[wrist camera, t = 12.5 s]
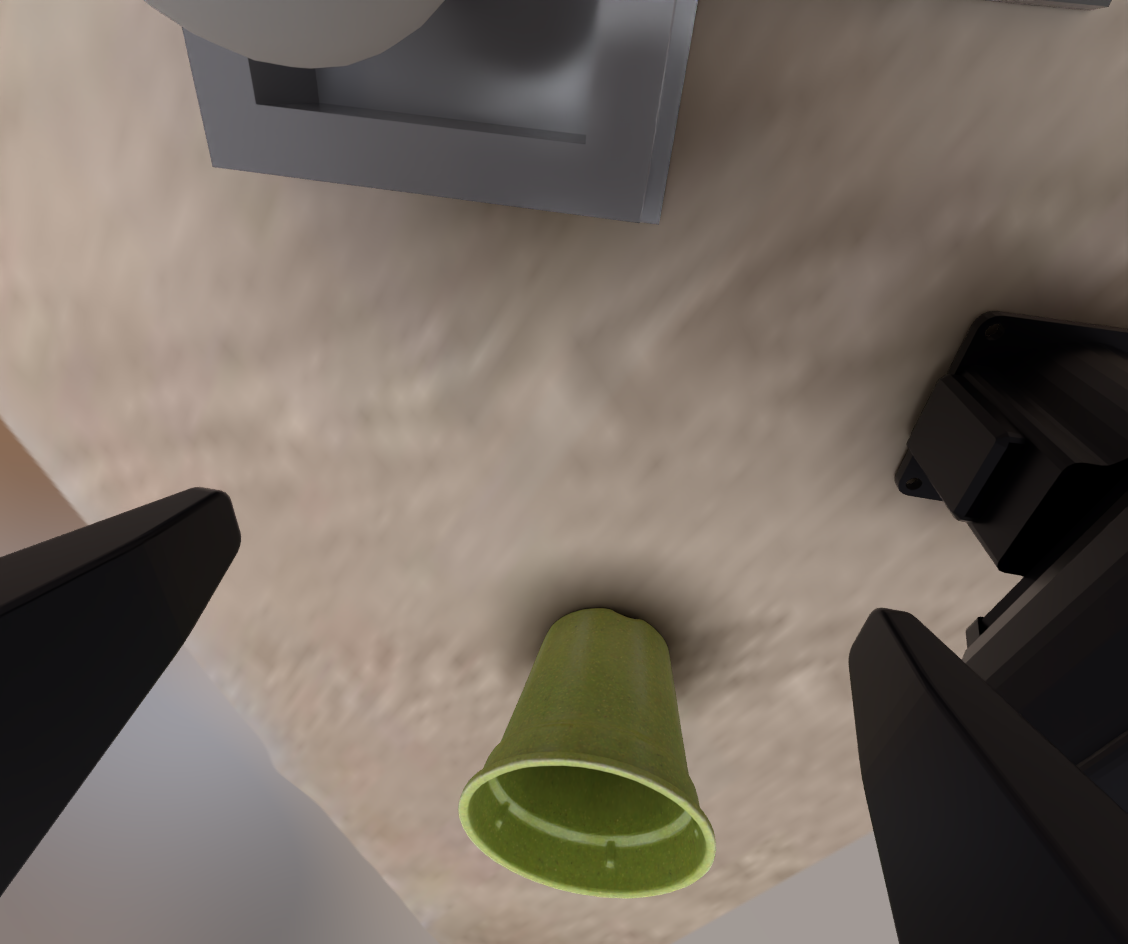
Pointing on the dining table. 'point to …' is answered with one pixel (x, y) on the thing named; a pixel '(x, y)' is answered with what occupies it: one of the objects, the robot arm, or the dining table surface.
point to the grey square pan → (478, 106)
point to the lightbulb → (301, 27)
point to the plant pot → (593, 769)
